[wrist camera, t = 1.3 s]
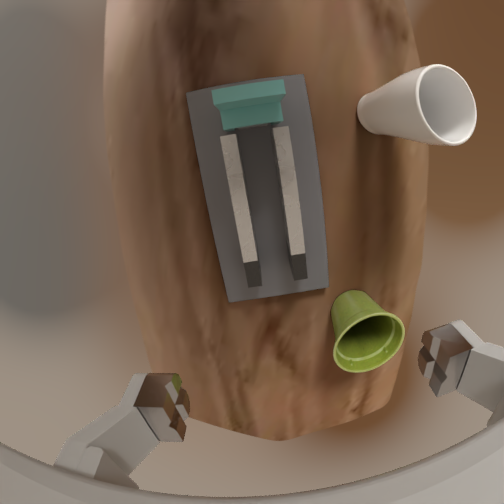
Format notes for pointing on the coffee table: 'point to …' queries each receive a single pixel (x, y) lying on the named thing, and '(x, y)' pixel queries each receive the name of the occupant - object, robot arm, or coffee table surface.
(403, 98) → the white cup
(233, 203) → the jaw
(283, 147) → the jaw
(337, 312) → the plant pot
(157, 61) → the coffee table surface
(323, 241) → the plate
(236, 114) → the collar
